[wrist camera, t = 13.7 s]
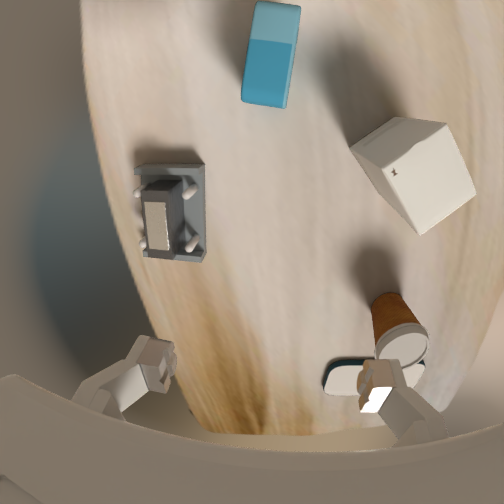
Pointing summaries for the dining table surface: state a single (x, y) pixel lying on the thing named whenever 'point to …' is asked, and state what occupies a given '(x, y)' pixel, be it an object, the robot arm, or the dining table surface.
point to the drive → (163, 218)
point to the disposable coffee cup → (398, 331)
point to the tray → (192, 204)
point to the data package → (270, 54)
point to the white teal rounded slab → (346, 372)
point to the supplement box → (416, 169)
